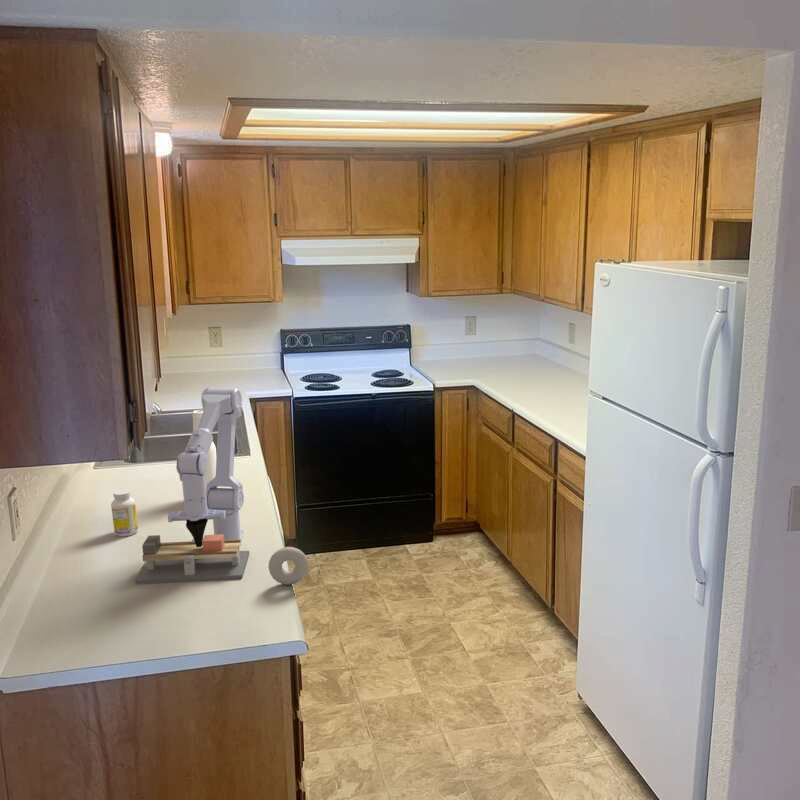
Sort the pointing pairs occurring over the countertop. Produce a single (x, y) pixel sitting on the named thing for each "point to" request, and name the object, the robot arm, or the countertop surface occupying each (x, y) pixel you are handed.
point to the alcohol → (211, 466)
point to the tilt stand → (193, 569)
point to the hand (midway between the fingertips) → (199, 545)
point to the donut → (290, 555)
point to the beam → (184, 550)
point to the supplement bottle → (124, 513)
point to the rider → (213, 543)
